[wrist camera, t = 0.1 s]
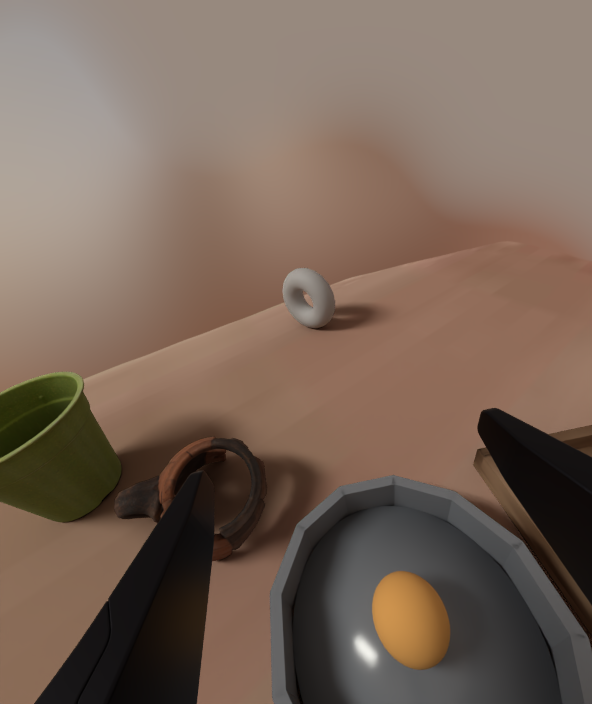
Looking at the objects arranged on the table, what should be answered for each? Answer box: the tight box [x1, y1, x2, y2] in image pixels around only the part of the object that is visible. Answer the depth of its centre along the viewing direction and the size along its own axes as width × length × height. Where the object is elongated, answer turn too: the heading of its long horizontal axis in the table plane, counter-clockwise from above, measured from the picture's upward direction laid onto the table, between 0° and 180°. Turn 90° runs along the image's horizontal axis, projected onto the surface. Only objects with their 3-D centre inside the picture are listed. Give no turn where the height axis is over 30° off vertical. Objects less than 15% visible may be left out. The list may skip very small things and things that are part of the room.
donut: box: [283, 268, 335, 328], centre depth 46 cm, size 10×4×10 cm, turn 47°
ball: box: [372, 571, 450, 670], centre depth 16 cm, size 4×4×4 cm
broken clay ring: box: [114, 437, 267, 561], centre depth 24 cm, size 12×10×8 cm
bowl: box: [270, 475, 592, 704], centre depth 17 cm, size 15×15×3 cm
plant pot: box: [0, 372, 121, 522], centre depth 27 cm, size 12×12×11 cm
